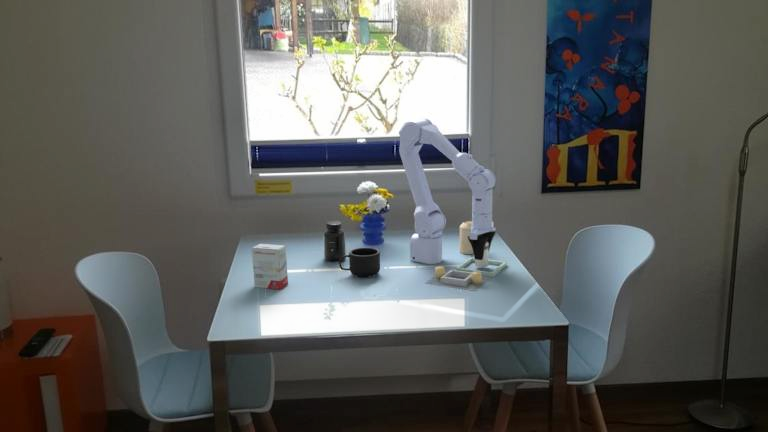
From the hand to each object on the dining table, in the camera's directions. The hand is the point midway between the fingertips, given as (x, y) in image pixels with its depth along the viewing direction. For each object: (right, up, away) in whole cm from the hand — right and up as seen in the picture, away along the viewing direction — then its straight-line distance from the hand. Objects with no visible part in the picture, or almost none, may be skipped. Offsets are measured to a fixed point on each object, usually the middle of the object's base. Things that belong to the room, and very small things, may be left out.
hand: (481, 257), depth 209 cm
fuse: (0, -2, +1) cm, 2 cm away
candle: (-2, 0, +21) cm, 21 cm away
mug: (-36, -5, 0) cm, 36 cm away
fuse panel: (-8, -7, -9) cm, 14 cm away
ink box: (-61, -8, -7) cm, 62 cm away
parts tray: (0, -4, +1) cm, 4 cm away
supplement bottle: (-44, -2, +16) cm, 47 cm away
